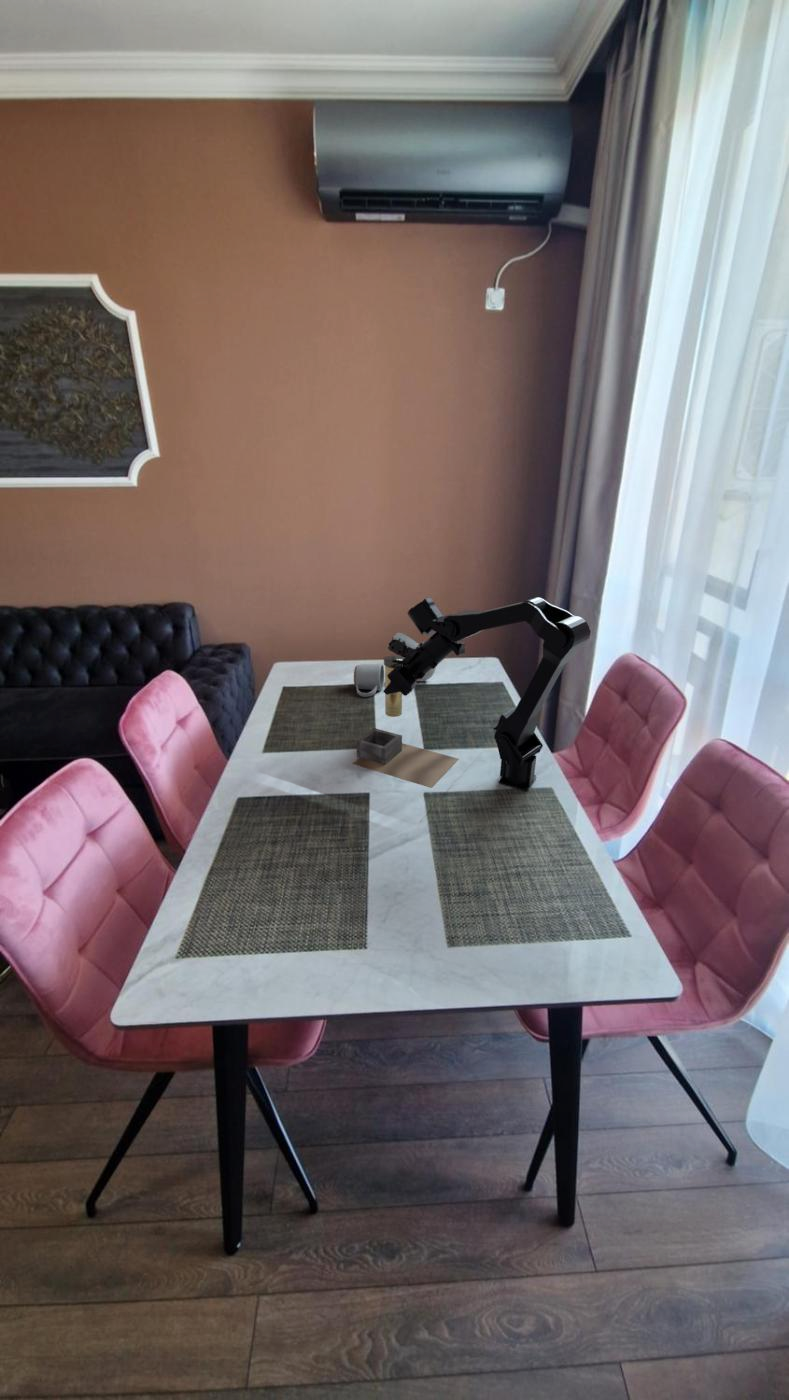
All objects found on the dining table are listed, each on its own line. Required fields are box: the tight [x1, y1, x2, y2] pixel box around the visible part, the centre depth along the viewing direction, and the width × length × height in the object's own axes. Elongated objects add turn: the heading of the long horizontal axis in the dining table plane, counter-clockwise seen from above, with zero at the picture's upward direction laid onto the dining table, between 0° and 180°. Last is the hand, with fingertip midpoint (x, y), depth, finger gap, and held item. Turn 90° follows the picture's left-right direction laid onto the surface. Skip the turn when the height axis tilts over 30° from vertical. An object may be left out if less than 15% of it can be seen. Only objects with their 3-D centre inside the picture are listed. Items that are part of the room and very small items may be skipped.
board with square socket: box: [351, 727, 460, 789], centre depth 137 cm, size 21×14×6 cm
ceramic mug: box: [353, 663, 385, 698], centre depth 176 cm, size 11×8×8 cm
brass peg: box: [383, 654, 404, 718], centre depth 144 cm, size 5×5×14 cm
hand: (388, 689), depth 145 cm, fingers closed on brass peg, 4 cm apart
